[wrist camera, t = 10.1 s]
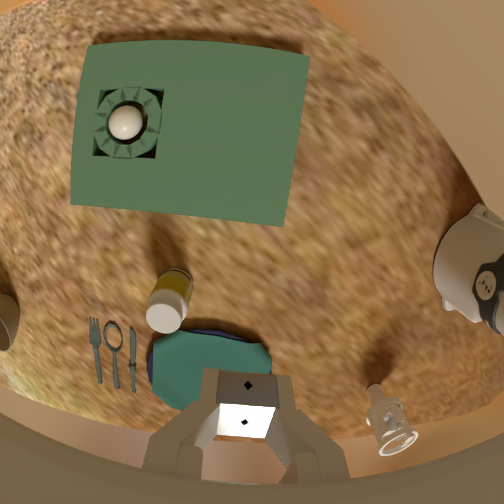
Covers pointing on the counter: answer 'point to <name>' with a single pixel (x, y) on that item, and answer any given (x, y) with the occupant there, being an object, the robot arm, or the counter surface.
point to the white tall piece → (388, 421)
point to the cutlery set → (186, 360)
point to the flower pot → (8, 321)
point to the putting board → (190, 129)
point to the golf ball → (125, 122)
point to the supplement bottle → (169, 300)
